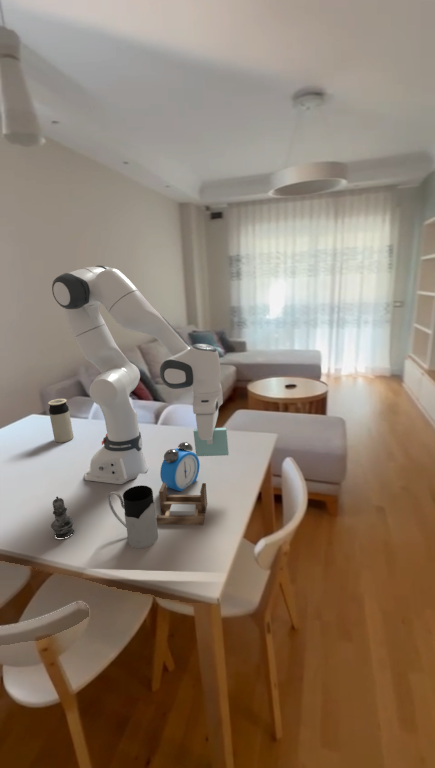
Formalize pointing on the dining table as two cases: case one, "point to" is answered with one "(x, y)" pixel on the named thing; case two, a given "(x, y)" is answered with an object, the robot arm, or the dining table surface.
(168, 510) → the oak offcut
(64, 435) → the travel mug
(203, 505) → the rack
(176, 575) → the dining table surface
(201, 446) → the panel
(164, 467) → the alarm clock
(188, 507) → the grey offcut
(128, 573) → the dining table surface
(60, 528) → the dark grey figurine
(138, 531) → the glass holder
